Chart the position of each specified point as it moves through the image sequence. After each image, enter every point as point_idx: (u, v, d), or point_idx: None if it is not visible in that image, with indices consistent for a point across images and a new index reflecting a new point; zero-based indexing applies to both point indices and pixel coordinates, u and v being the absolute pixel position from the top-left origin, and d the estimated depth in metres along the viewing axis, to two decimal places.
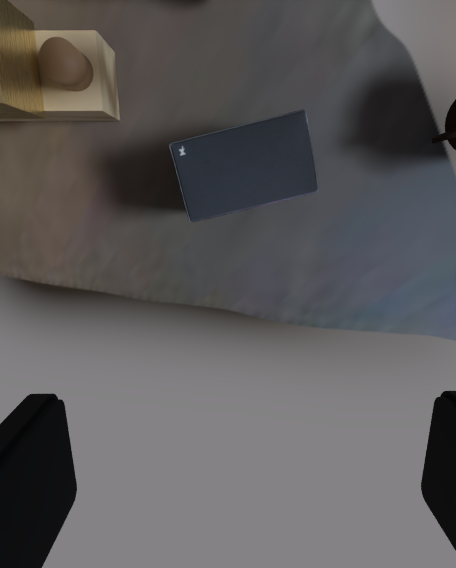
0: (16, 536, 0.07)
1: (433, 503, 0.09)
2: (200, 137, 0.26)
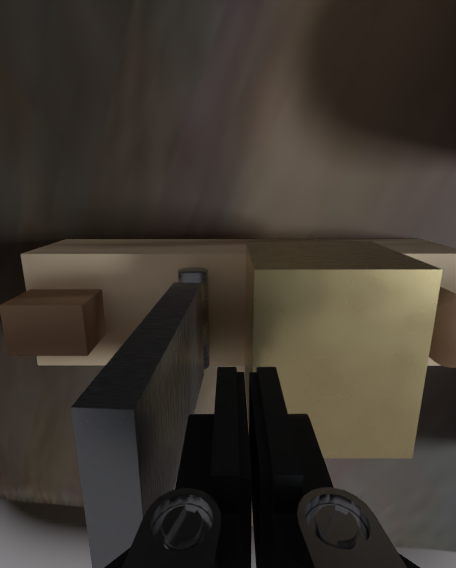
0: None
1: None
2: None
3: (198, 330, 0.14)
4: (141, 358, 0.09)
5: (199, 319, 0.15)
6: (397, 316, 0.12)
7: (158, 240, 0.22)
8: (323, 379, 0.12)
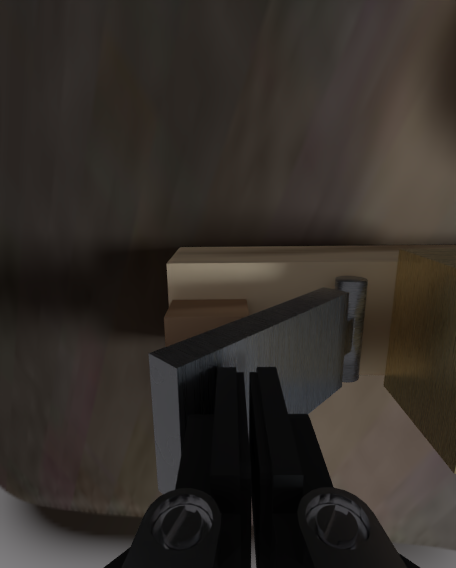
0: None
1: None
2: None
3: (332, 338, 0.14)
4: (222, 338, 0.10)
5: (337, 328, 0.15)
6: None
7: (277, 247, 0.21)
8: None
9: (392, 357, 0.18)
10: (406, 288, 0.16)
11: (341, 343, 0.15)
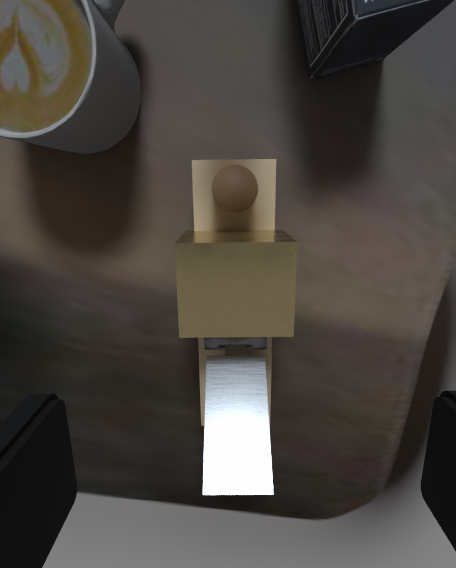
0: (17, 535, 0.07)
1: (433, 503, 0.09)
2: None
3: (228, 371, 0.26)
4: None
5: (224, 366, 0.26)
6: (202, 264, 0.21)
7: None
8: (241, 299, 0.22)
9: None
10: None
11: (235, 359, 0.27)
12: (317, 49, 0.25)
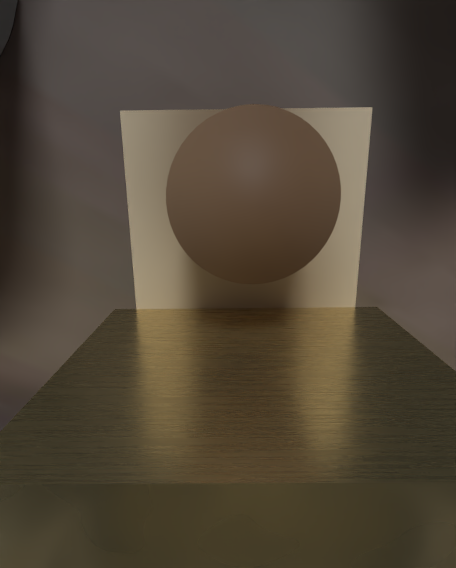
0: None
1: None
2: None
3: None
4: None
5: None
6: (101, 567, 0.04)
7: None
8: None
9: None
10: None
11: None
12: None
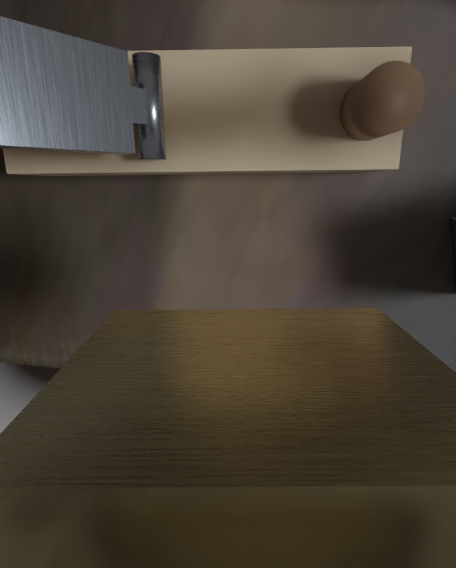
0: None
1: None
2: None
3: (106, 87, 0.16)
4: None
5: (113, 80, 0.16)
6: None
7: None
8: None
9: None
10: None
11: (125, 102, 0.17)
12: None
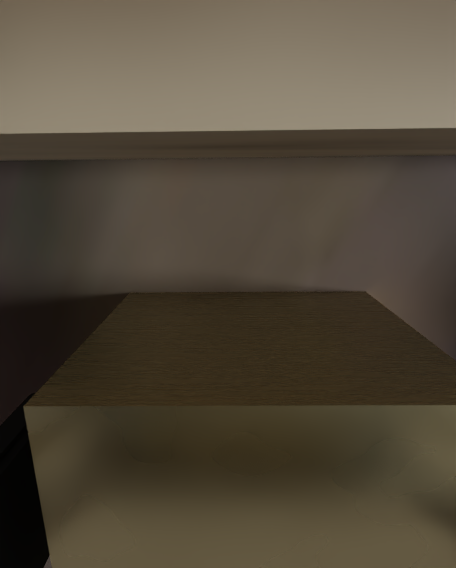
0: (19, 534, 0.07)
1: None
2: None
3: None
4: None
5: None
6: (136, 476, 0.06)
7: None
8: None
9: None
10: None
11: None
12: None
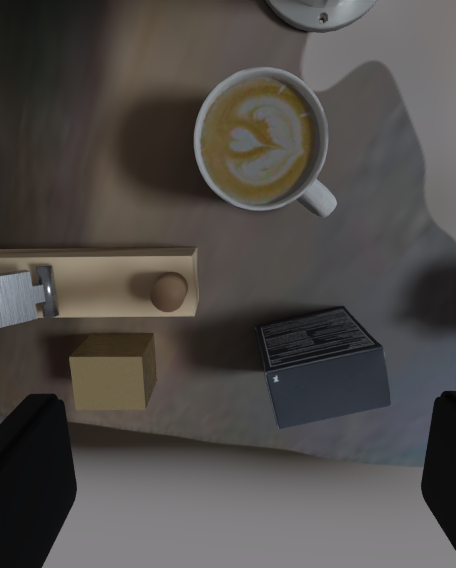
0: (16, 536, 0.07)
1: (433, 503, 0.09)
2: (292, 368, 0.31)
3: (17, 292, 0.31)
4: None
5: (22, 288, 0.31)
6: (86, 368, 0.36)
7: (44, 249, 0.38)
8: (111, 388, 0.36)
9: None
10: None
11: (29, 296, 0.32)
12: (266, 336, 0.37)
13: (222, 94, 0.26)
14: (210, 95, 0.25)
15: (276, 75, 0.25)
